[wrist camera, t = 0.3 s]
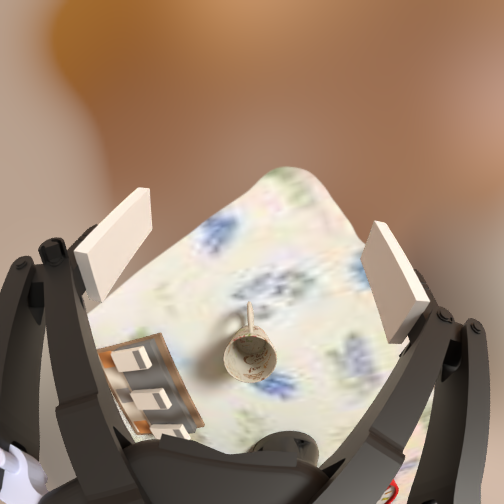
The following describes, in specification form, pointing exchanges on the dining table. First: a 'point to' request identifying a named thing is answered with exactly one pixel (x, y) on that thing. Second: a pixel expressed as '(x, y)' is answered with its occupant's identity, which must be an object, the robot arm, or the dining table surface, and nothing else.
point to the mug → (250, 353)
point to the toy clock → (389, 494)
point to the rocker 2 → (169, 430)
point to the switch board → (150, 386)
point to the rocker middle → (151, 399)
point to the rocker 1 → (131, 359)
